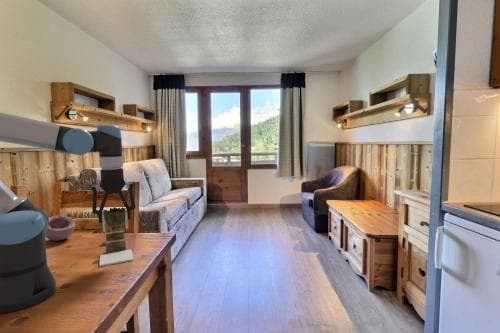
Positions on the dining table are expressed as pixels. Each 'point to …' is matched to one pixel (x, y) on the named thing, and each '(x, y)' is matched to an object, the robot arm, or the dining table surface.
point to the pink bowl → (60, 227)
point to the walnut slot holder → (115, 241)
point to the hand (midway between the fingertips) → (115, 229)
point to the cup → (115, 218)
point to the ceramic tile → (116, 257)
